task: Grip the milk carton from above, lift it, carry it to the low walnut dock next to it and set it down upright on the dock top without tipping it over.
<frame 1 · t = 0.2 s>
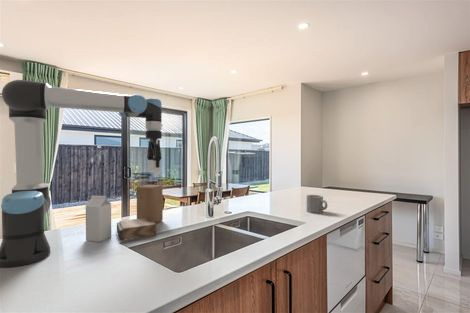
hand: (153, 173, 127), 28 cm above the countertop, tool pointing down, fingers open, 13 cm apart
milk carton: (98, 239, 113), on the countertop
dock: (137, 233, 121), on the countertop
wooden block: (149, 222, 139), on the countertop
coffee mug: (316, 212, 163), on the countertop
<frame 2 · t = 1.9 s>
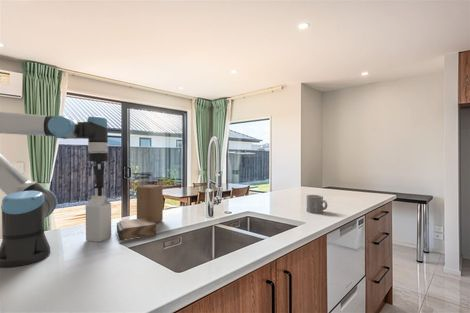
hand: (99, 200, 113), 17 cm above the countertop, tool pointing down, fingers open, 13 cm apart
nothing on the countertop moved.
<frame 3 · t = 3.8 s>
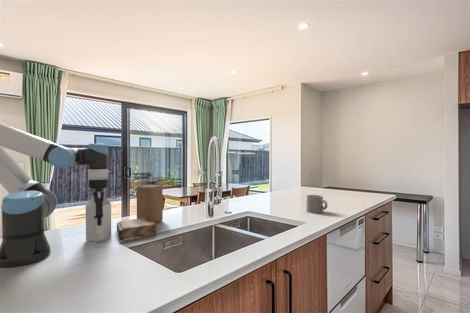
hand: (98, 229, 113), 4 cm above the countertop, tool pointing down, fingers closed on milk carton, 10 cm apart
milk carton: (98, 239, 113), on the countertop, touching gripper
everything else where it was.
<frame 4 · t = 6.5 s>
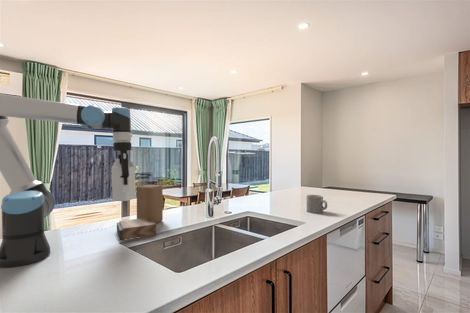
hand: (124, 190, 118), 21 cm above the countertop, tool pointing down, fingers closed on milk carton, 10 cm apart
milk carton: (124, 200, 118), point 16 cm above the countertop, touching gripper
everything else where it was.
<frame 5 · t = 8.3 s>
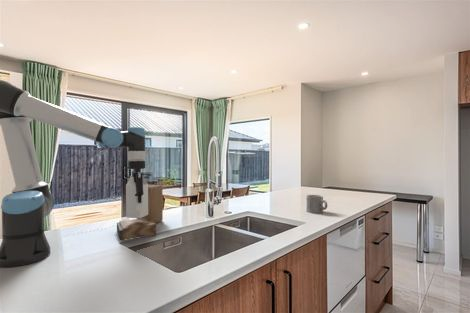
hand: (137, 207, 121), 12 cm above the countertop, tool pointing down, fingers closed on milk carton, 10 cm apart
milk carton: (137, 216, 121), point 8 cm above the countertop, touching gripper
everything else where it was.
when the fingers open (11 cm above the countertop, at t = 9.5 s): milk carton drops 1 cm, resting on dock.
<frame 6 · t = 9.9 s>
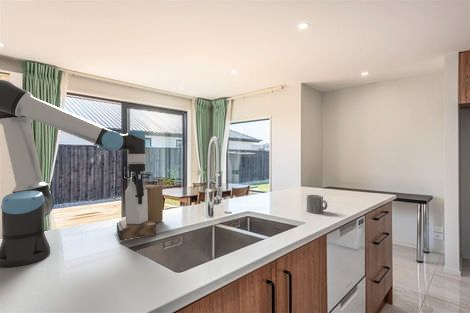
hand: (137, 208, 121), 12 cm above the countertop, tool pointing down, fingers open, 13 cm apart
milk carton: (137, 222, 121), point 5 cm above the countertop, touching dock
everything else where it was.
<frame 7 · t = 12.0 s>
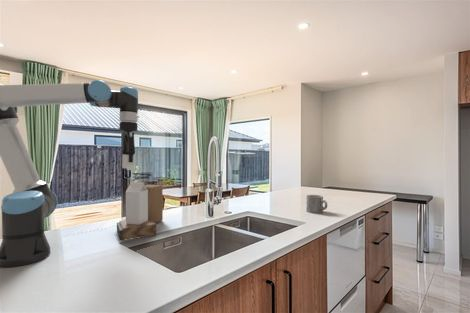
hand: (127, 169, 117), 30 cm above the countertop, tool pointing down, fingers open, 13 cm apart
nothing on the countertop moved.
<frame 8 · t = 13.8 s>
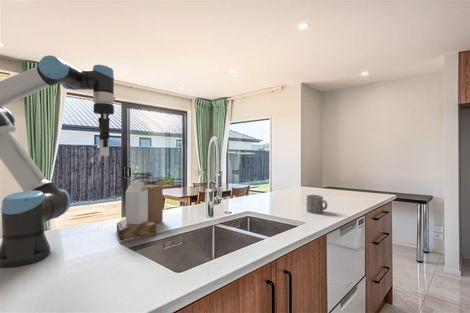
hand: (104, 155, 106), 37 cm above the countertop, tool pointing down, fingers open, 13 cm apart
nothing on the countertop moved.
at the end: milk carton inside the target area on the dock (0.1 cm from its centre), point 4.8 cm above the dock's base; milk carton tilted 0°; the gripper is holding nothing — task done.
